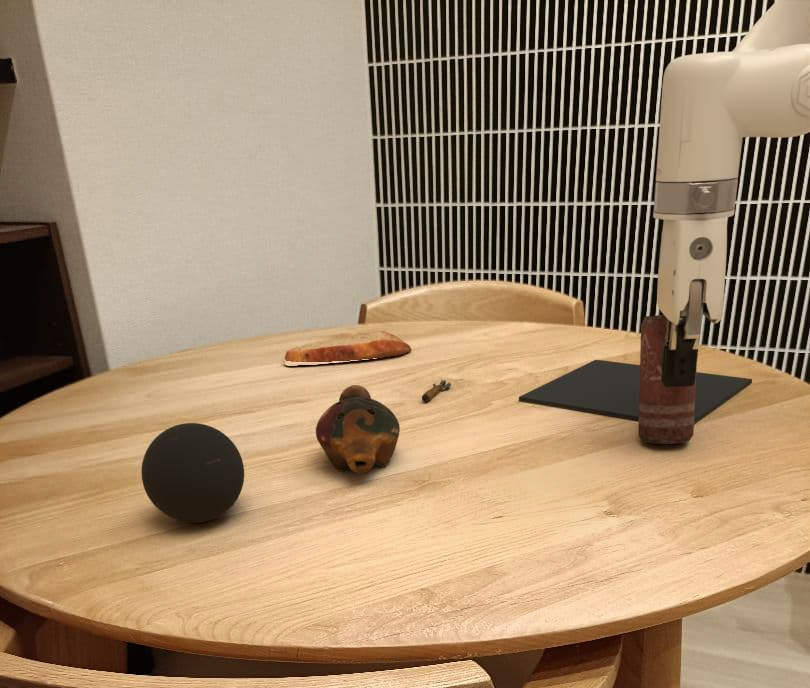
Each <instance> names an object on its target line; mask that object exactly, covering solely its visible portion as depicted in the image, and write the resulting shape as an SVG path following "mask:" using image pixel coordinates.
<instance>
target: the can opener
mask: <svg viewBox="0 0 810 688" xmlns="http://www.w3.org/2000/svg"><path fill="white" fill-rule="evenodd" d="M451 386H452V382H450V381H449V382H447V380H445V379H441V381H440V383H439V384H436V383H432V387H431V388H430V389H428V390H427V391H425V392H424V393H423V394H422V396H421V400H422V402H425V403H426V402H428V401H430V400H431V399H433V397H435V395H437V393H439V392H440V390H441V389H448V388H450V387H451Z"/></svg>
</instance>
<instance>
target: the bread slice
mask: <svg viewBox="0 0 810 688" xmlns="http://www.w3.org/2000/svg"><path fill="white" fill-rule="evenodd" d="M410 351H411V352H412V348H411V346H410V345H409V344H408V343H407V342H405V341H404V340H402V339H401V338H399V337H398V336H396V335H394V334H392V333H391V332H387V331H385V330H379V331H375V332H367V333H366V332H365V333H362V332H361V333H356V334H350V335H344V336H338V337H334V338H329V339H325V340H319V341H316V342H312V343H307V344H303V345H301V346H296V347H294V348H291V349H289V350H287V351H286V353H285V355H284V357H283V358H284V359H285V360H286V361H291V362H332V361H350V360H362V359H373V358H382V359H384V358H383V357H387V358H389V357H388V356H395V357H398V356H397V355H399V356H402V355H401V354H403V355H406V354H408V353H411V352H410ZM407 352H408V353H407ZM284 359H283V360H284Z"/></svg>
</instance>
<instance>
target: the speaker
mask: <svg viewBox="0 0 810 688" xmlns="http://www.w3.org/2000/svg"><path fill="white" fill-rule="evenodd" d="M243 461H244V460H243V458H242V456H241V453H240V451H239V449H238V447H237V446H236V444H235V443H234V442H233V441H232V440H231V438H230V437H229V436H227V434H225V433H223V432H222V431H221V430H219V429H218V428H215V427H213V426H211V425H207V424H204V423H198V422H185V423H180V424H176V425H173V426H171V427H168V428H167V429H165V430H163V431H162V432H161V433H159V434H157V436H156V437H155V438H154V439H153V440H152V441H151V442H150V444H149V445H148V447H147V448H146V450H145V453H144V455H143V458H142V463H141V480H142V486H143V489H144V491H145V493H146V495H147V497H148V499H149V501H150V502H151V503H152V505H154V507H155V508H156V509H157V510H158V511H160V512H161V513H162V514H164V515H165V516H167V517H168V518H171V519H173V520H176V521H178V522H182V523H187V522H188V524H189V523H190V524H199V522H200V523H205V521H206V522H209V520H210V521H213V520H215V519H217V518H219V517H221V516H222V515H224V514H225V513H226V512H228V511H229V510H230V509H231V507H233V506H234V505H235V504H236V502H237V500H238V498H239V497H240V495H241V492H242V490H243V487H244V483H245V465H244V462H243ZM212 519H213V520H212Z"/></svg>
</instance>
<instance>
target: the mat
mask: <svg viewBox="0 0 810 688" xmlns="http://www.w3.org/2000/svg"><path fill="white" fill-rule="evenodd" d="M752 383H753V378H748V377H739V376H731V375H724V374H715V373H706V372H701V371H700V372H699V371H696V390H695V412H694V425H695V424H697V423H698V422H699V421H701V420H702V419H703V418H705V417H707V416H708V415H710V414H711V413H712V412H713V411H715V410H717V409H718V408H719V407H720V406H722V405H723V404H725V403H726V402H727V401H729V400H730V399H731V398H733V397H734V396H737V395H738V393H740V392H741V391H742V390H744V389H746V388H747V387H748V386H750V385H751V384H752ZM639 385H640V364H634V363H626V362H620V361H619V362H618V361H612V360H611V361H610V360H602V359H594V360H591V361H589V362H587V363H586V364H584V365H581V366H579V367H578V368H575V369H573V370H571V371H569V372H567V373H565V374H562V375H561V376H559V377H556V378H555V379H553V380H551V381H548V382H547V383H545V384H542V385H540V386H538V387H536V388H534V389H532V390H530V391H527V392H526V393H524V394H522V395H520V396H518V402H524V403H528V404H530V403H531V404H535V405H542V406H547V407H554V408H558V409H566V410H571V411H572V410H573V411H578V412H583V413H589V414H596V415H600V416H601V415H602V416H607V417H613V418H619V419H620V418H621V419H625V420H632V421H636V422H639ZM745 387H746V388H745Z"/></svg>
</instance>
